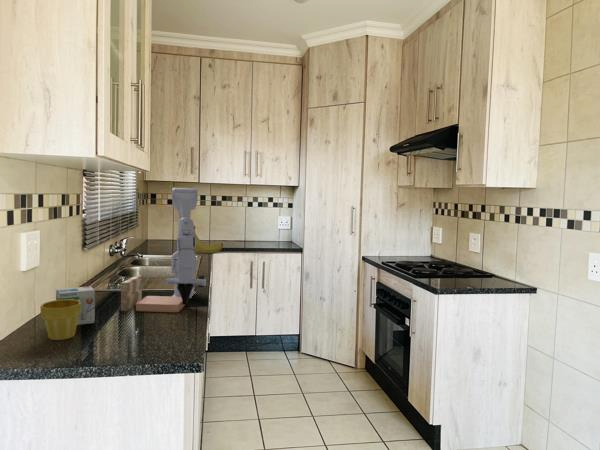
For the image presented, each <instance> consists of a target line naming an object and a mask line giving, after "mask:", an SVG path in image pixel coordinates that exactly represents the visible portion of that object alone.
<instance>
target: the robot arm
mask: <svg viewBox="0 0 600 450" xmlns="http://www.w3.org/2000/svg"><path fill="white" fill-rule="evenodd" d="M171 195H172V196H171V197H172V199H171V201H172V204H171V205H172V208H173V209H174V210H176V211H177V214H178V222H177V237H176V249H177V251H175V252H174V253H172V255H171V264H170V265H171V267H170V269H171V270H170V271H171V273H172V274H173V275H174V277H173V278H171V277H170V278H167V277H166V278H165V279H164V280H165V281H164V284H165V285H174V293H173V295H171V296H170V297H181V298H182V301H183V305H185V306H187V305H188V304H189V299H192V298H193V297H192V296H193V295H194V294H195V293H196V294H197V292H196V291H195V286H202V287H203V286H206V285H207V279H205V278H204V279H203V278H195V276H194V275H195V274H196V272H197V265H198V264H197V263H198V262H197V256H196V253H195V251H196V249H195V247H196V238H195V233H196V232H195V233H194V226H195V224H194V221H193V219H192V218H191V215H192V214H191V213H192V211H193V210H195V209H197V205H198V196H199V195H198V189H197V188H195V187H194V188H192V187H191V188H190V187H173V188H172V191H171ZM193 246H194V247H193ZM196 294H195V295H196ZM195 295H194V296H195Z"/></svg>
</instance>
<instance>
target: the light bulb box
mask: <svg viewBox="0 0 600 450" xmlns="http://www.w3.org/2000/svg"><path fill="white" fill-rule="evenodd" d="M55 290H56V291H55V300H64V299H72V300H79V301H80V302H81V314H80V315H79V316H78V321H77V326H79V325H86V324H94V323H95V316H96V315H95V314H96V313H95V311H96V309H95V308H96V304H95V303H96V290H95V289H94V287H92V286H91V285H90V286H80V287H68V288H56V289H55Z"/></svg>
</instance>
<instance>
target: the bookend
mask: <svg viewBox="0 0 600 450" xmlns="http://www.w3.org/2000/svg"><path fill="white" fill-rule="evenodd" d="M120 283H121V284H120V312H127V311H129V310H131V309H133V307H136V303H137V302H139V301H140V300H142V299H143V297H142V296H143V276H142V275H140V274H139V275H138V274H137V275H133V277H130V278H128V279H126V280H124V281H122V282H120Z"/></svg>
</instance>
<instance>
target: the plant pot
mask: <svg viewBox="0 0 600 450" xmlns="http://www.w3.org/2000/svg"><path fill="white" fill-rule="evenodd" d="M80 314H81V302H80V301H79V300H72V299H64V300H56V299H55V300H49V301H47V302H44V303H42V304H41V305H40V317H41V319H43V321H44V325H45V328H46V332H47V333H46V334H47V336H48V339H49V340H51V341H62V340H69V339H71V338H74V337H75V334H76V330H77V326H78V325H77V321H78V316H79V315H80Z"/></svg>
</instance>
